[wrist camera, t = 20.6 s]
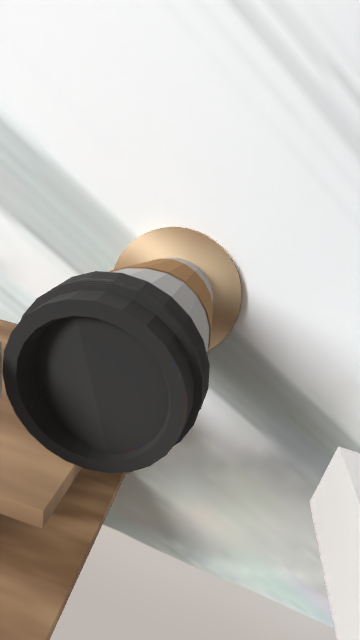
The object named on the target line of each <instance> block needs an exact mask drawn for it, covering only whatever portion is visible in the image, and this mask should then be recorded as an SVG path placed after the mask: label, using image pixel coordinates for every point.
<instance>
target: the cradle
mask: <svg viewBox="0 0 360 640" xmlns="http://www.w3.org/2000/svg"><path fill="white" fill-rule="evenodd" d="M17 325H18V324H14V323H10V322H7V321H3V320H0V340H1V358H2V369H3V355H4V349H5V347H6V344H7V342H8V339H9V337H10V334H11V332H12V331H13V329H14V328H15V327H16V326H17ZM125 473H126V472H121V473H105V472H99V471H94V470H88V469H85V468H82V467H80V466H77V465H75V464H72V463H69V462H67V461H65V460H63V459H62V458H60V457H59V456H57V455H55V454H54V453H52V452H51V451H49V450H47V449H46V448H45V447H44V446H43V445H42V444H41V443H39V442H38V441H37V440H36V439H35V438H34V437H33V436H32V435H31V434H30V433H29V432H28V431H27V429H26V428H25V426H24V425H23V424H22V422H21V421H20V420H19V418H18V417H17V416H16V414H15V412H14V410H13V407H12V405H11V403H10V401H9V398H8V396H7V394H6V389H5V384H4V379H3V374H2V397H1V398H0V640H50V637H51V635H52V633H53V631H54V629H55V627H56V624H57V622H58V620H59V618H60V616H61V613H62V611H63V609H64V607H65V605H66V603H67V600H68V598H69V596H70V594H71V592H72V589H73V587H74V585H75V583H76V580H77V578H78V576H79V574H80V572H81V570H82V568H83V565H84V563H85V561H86V559H87V556H88V555H89V552H90V550H91V548H92V546H93V544H94V541H95V539H96V537H97V535H98V532H99V530H100V528H101V526H102V524H103V522H104V520H105V517H106V515H107V513H108V511H109V509H110V507H111V504H112V502H113V500H114V498H115V496H116V493H117V491H118V489H119V487H120V485H121V482H122V480H123V478H124V476H125Z"/></svg>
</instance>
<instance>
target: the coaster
mask: <svg viewBox="0 0 360 640" xmlns="http://www.w3.org/2000/svg"><path fill="white" fill-rule="evenodd" d="M160 258H161V259H165V258H181V259H184V260H187V261H190V262H191V263H193V264H195V265H196V266H198V267H199V268H200V269H201V270H202V271H203V273H204V274H205V275H206V276H207V278H208V280H209V282H210V284H211V288H212V292H213V316H212V328H211V339H210V346H209V348H208V350H210V349H212V348H213V347H215V346H216V345H218V344H219V343H220V342H221V341H222V340H223V339H224V338H225V337H226V336H227V335H228V334H229V332H230V331H231V330H232V328H233V326H234V324H235V322H236V320H237V317H238V315H239V311H240V306H241V283H240V278H239V275H238V272H237V269H236V267H235V265H234V263H233V261H232V259H231V258H230V256H229V255H228V254H227V252H226V251H225V250H224V249H223V248H222V247H221V246H220V245H219V244H218V243H217V242H215V241H214V240H213V239H211V238H210V237H208V236H207V235H205V234H203V233H200V232H198V231H195V230H192V229H188V228H182V227H167V228H160V229H156V230H153V231H150V232H147V233H145V234H143V235H141V236H140V237H138V238H137V239H135V240H134V241H133V242H132V243H130V244H129V245H128V246H127V248H126V249H125V250H124V251H123V252H122V254H121V255H120V257H119V259H118V261H117V263H116V265H115V268H114V269H119V268H123V267H127V266H131V265H135V264H139V263H143V262H148V261H152V260H156V259H160Z"/></svg>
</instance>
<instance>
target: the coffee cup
mask: <svg viewBox="0 0 360 640" xmlns="http://www.w3.org/2000/svg"><path fill="white" fill-rule="evenodd" d="M212 316H213V292H212V288H211V284H210V282H209V280H208V278H207V276H206V275H205V274H204V273H203V271H202V270H201V269H200V268H199V267H198V266H196V265H195V264H193V263H191V262H190V261H187V260H184V259H181V258H165V259H161V258H160V259H156V260H152V261H148V262H143V263H139V264H135V265H131V266H127V267H123V268H119V269H114V270H111V271H109V272H98V271H95V272H91V273H87V274H83V275H78V276H74V277H71V278H70V279H68V280H66V281H65V282H63V283H61V284H60V285H58V286H56V287H55V288H53V289H52V290H50V291H49V292H47V293H45V294H44V295H42V296H40V297H39V298H37V299H36V300H35V302H34V303H33V304H32V305H31V306H30V307H29V309H28V310H27V311H26V312H25V313H24V315H23V316H22V319H21V321H20V322H19V324H18V325H17V326H16V327H15V328H14V329H13V331H12V332H11V334H10V337H9V339H8V342H7V344H6V347H5V349H4V355H3V369H2V374H3V379H4V384H5V389H6V394H7V396H8V398H9V401H10V403H11V405H12V407H13V410H14V412H15V414H16V416H17V417H18V418H19V420H20V421H21V422H22V424H23V425H24V426H25V428H26V429H27V431H28V432H29V433H30V434H31V435H32V436H33V437H34V438H35V439H36V440H37V441H38V442H39V443H41V444H42V445H43V446H44V447H45V448H46V449H47V450H49V451H51V452H52V453H54V454H55V455H57V456H59V457H60V458H62V459H63V460H65V461H67V462H69V463H72V464H75V465H77V466H80V467H82V468H85V469H88V470H94V471H99V472H105V473H121V472H132V471H135V470H138V469H141V468H145V467H148V466H150V465H152V464H153V463H155V462H156V461H158V460H159V459H161V458H162V457H164V456H165V455H167V453H168V452H169V451H170V449H171V448H172V447H173V446H174V445H176V444H177V443H179V442H180V441H181V440H182V439H183V437H184V436H185V435H186V434H187V432H188V431H189V430H190V429H191V427H192V426H193V425H194V423H195V420H196V418H197V415H198V412H199V410H200V409H201V407H202V404H203V401H204V398H205V396H206V393H207V390H208V384H209V361H208V357H207V352H208V348H209V346H210V339H211V328H212Z"/></svg>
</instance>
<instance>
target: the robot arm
mask: <svg viewBox="0 0 360 640" xmlns="http://www.w3.org/2000/svg"><path fill="white" fill-rule="evenodd" d="M1 397H2V358H1V340H0V398H1ZM310 507H311V513H312V518H313V523H314V528H315V533H316V538H317V543H318V548H319V553H320V558H321V563H322V568H323V573H324V578H325V583H326V588H327V593H328V598H329V603H330V608H331V614H332V619H333V624H334V629H335V634H336V639H337V640H360V453H358V452H354V451H351V450H348V449H345V448H342V447H339V446H338V448H337V450H336V452H335V454H334V456H333V458H332V460H331V462H330V464H329V466H328V467H327V469H326V471H325V473H324V475H323V477H322V479H321V481H320V483H319V485H318V487H317V489H316V490H315V492H314V494H313V496H312V498H311V500H310Z"/></svg>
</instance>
